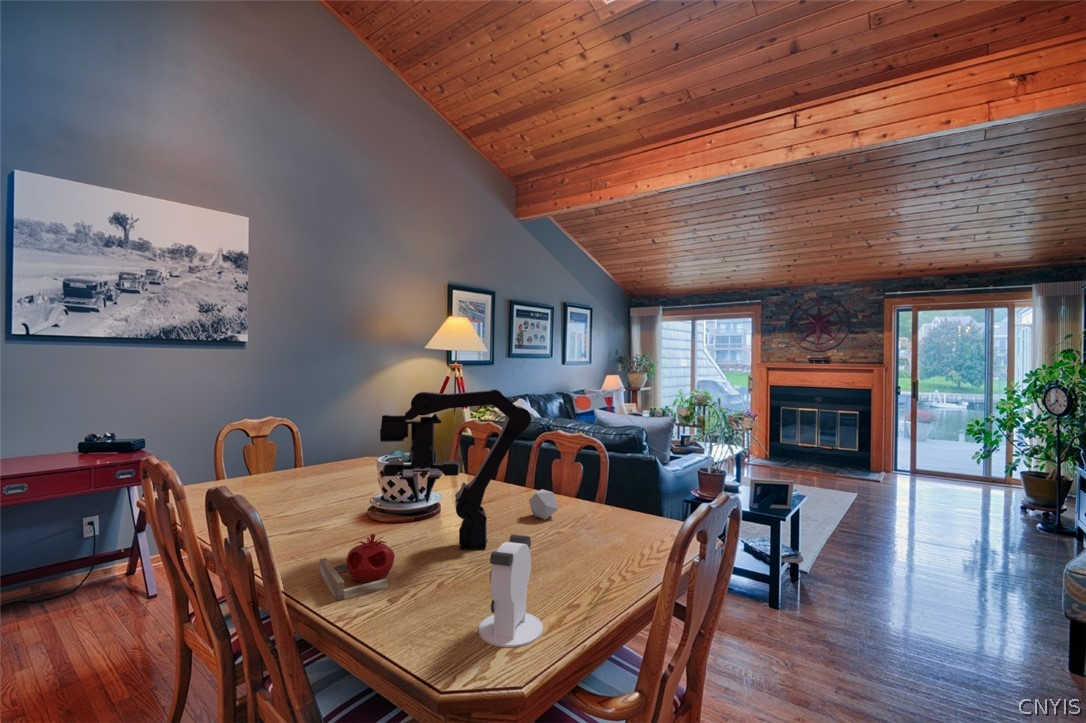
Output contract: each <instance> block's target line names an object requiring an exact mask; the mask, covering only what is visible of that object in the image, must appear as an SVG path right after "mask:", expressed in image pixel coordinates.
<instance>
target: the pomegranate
mask: <svg viewBox="0 0 1086 723" xmlns="http://www.w3.org/2000/svg"><path fill="white" fill-rule="evenodd" d="M375 538H376V533H373V534H372V533H371V534H370V537H369V536H368V537H365V539H366V542H365V541H357V542H355V543H354V544H355V545H356V546H354V547H352V548H351V549H350V550H349V551H348V553H347V556H346V560H345V561H346V562H347V568H348V573H349V575H350V577H351V578H352V580H354V581H356V582H359V583H361V582H362V583H363V582H364V583H365V582H370V583H371V582H374V581H377V580H379V579H380V580H382V579H385V578H386V577H388V575H389V574H390V571H391V569H392V567H393V566H394V562H395V557H396V556H395V552H394V551H393V549H392V548H391V547H389V546H388V545H386V543H387V541H383V540H381V539H384V536H383V537H379V538H378V539H376V540H375ZM359 543H360V544H359ZM357 544H359V545H357Z"/></svg>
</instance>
